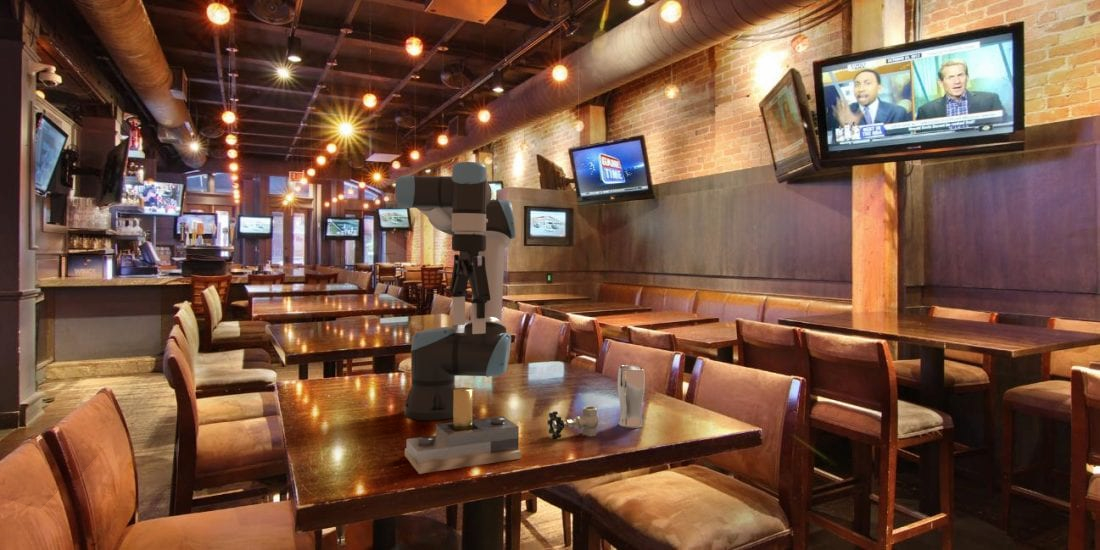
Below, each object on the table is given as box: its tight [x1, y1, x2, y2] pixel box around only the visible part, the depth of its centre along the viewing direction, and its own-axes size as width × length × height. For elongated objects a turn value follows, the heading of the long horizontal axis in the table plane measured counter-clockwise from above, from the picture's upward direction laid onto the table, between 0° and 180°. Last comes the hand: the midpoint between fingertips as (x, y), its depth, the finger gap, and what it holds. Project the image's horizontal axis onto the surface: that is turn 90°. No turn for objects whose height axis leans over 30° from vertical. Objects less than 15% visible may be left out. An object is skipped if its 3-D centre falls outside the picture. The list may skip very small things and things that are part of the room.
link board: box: [404, 448, 522, 475], centre depth 127 cm, size 22×12×2 cm, turn 117°
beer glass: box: [617, 364, 646, 429], centre depth 154 cm, size 7×7×15 cm
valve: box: [546, 405, 599, 440], centre depth 144 cm, size 7×7×12 cm
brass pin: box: [452, 386, 473, 432], centre depth 127 cm, size 4×4×13 cm
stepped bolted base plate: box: [405, 415, 520, 464], centre depth 127 cm, size 22×9×6 cm, turn 117°
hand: (468, 329), depth 133 cm, fingers open, 13 cm apart
